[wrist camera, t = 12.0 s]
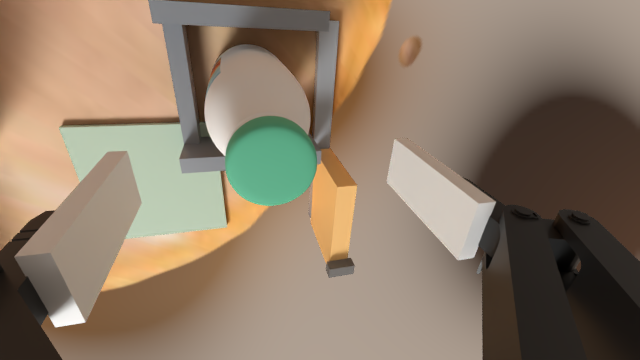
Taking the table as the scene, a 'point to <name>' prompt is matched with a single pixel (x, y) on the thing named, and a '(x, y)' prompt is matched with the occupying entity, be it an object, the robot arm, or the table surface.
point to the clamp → (176, 15)
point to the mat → (153, 175)
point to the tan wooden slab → (333, 213)
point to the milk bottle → (260, 125)
